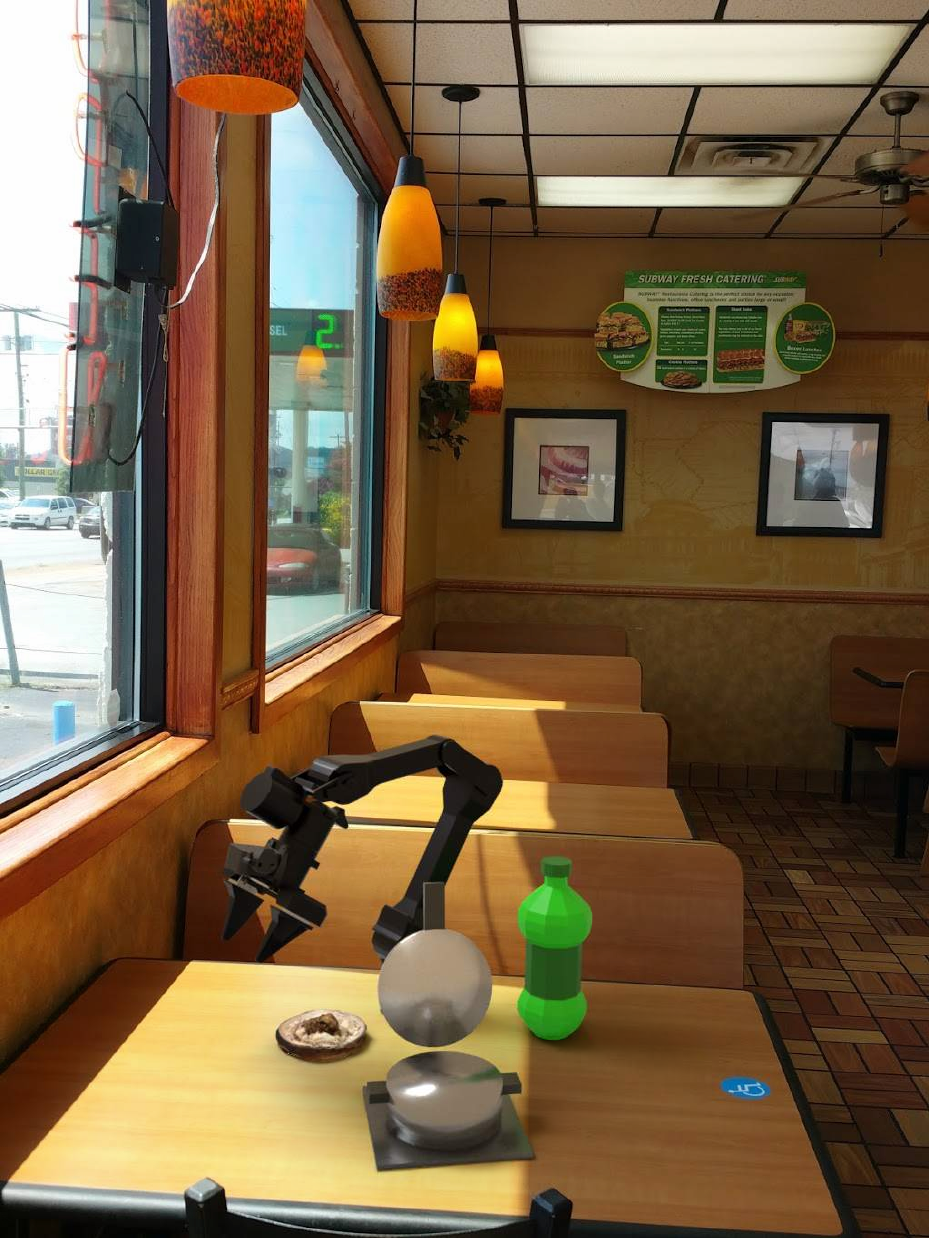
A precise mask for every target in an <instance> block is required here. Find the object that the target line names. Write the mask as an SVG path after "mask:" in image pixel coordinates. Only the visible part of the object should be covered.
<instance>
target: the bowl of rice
mask: <svg viewBox="0 0 929 1238" xmlns="http://www.w3.org/2000/svg"><path fill="white" fill-rule="evenodd" d="M367 1030H368V1026H367V1023H365V1021H363V1020H362V1018H361V1017H359V1016H358V1015H355V1014H352V1013H349V1012H346V1011H342V1010H341V1009H340V1010H338V1009H328V1008H317V1009H312V1010H306V1011H304V1012H302V1013H299V1014H297V1015H295V1016H292V1017H290V1018H288V1019H286V1020H284V1021H283V1022H281V1023H280V1024H279V1025H278V1027H277V1029H276V1030H275V1036H274V1037H275V1040H276V1042H277V1046H279V1047H280V1048H281V1049H282V1050H281V1051H282V1052H283V1053H285V1054H286V1053H289V1054H288V1055H290V1054H292V1055H291V1056H293V1055H294V1056H293V1057H296V1056H297V1058H299V1057H300V1058H299V1063H300V1064H301V1063H303V1061H304V1060H305V1061H304V1062H315V1061H317V1062H316V1063H318V1062H319V1063H320V1062H322V1061H324V1062H329V1060H331V1061H335V1060H339V1059H342V1058H341V1057H343V1058H345V1057H344V1056H346V1057H348V1056H350V1055H351V1053H352V1055H354V1056H356V1051H358V1050H359V1049H360V1048H362V1047H361V1046H362V1045H363V1044H364V1042H365V1041H366V1040H365V1039H366V1038H365V1039H364V1037H365V1035H366V1033H367ZM364 1040H365V1041H364ZM349 1054H350V1055H349ZM288 1055H287V1054H286V1056H285V1057H287V1056H288ZM347 1055H348V1056H347ZM301 1058H302V1059H301ZM338 1058H339V1059H338ZM334 1059H335V1060H334ZM322 1063H323V1062H322Z"/></svg>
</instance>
